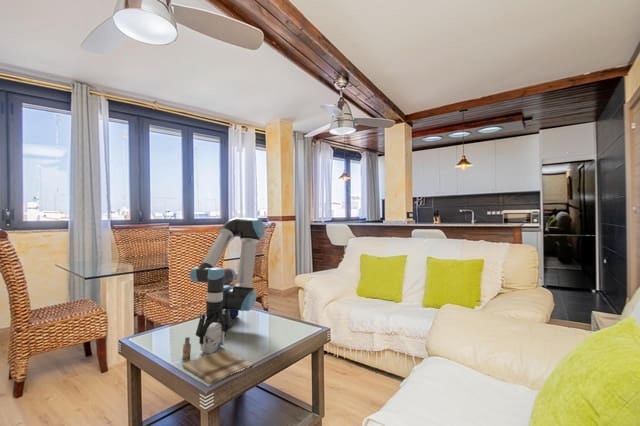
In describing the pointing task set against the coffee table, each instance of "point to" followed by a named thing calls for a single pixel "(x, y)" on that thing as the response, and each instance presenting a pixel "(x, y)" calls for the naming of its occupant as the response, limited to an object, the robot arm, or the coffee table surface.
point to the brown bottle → (186, 349)
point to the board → (216, 365)
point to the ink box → (213, 338)
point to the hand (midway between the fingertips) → (212, 347)
